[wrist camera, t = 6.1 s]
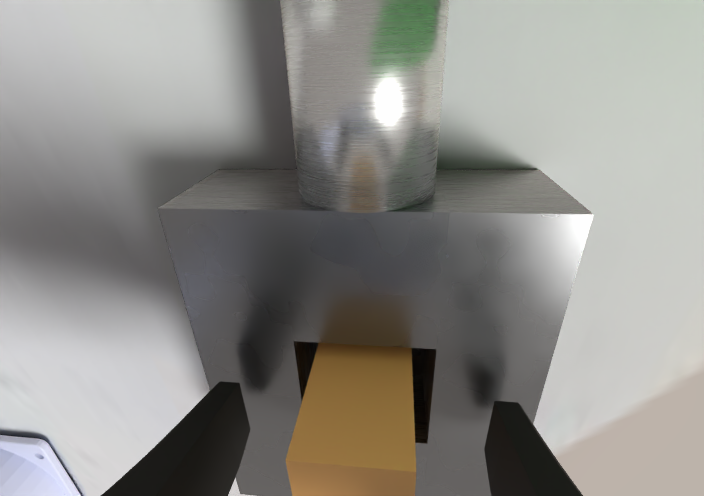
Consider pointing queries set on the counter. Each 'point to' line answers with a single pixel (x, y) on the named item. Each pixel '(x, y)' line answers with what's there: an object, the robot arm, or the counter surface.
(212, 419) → the robot arm
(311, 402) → the orange rectangular block
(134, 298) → the counter surface
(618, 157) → the counter surface
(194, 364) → the counter surface
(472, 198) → the grey slotted block
